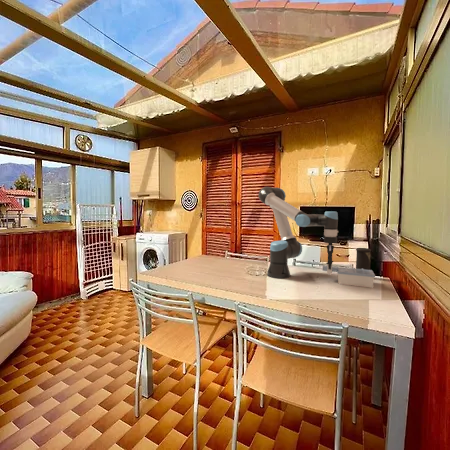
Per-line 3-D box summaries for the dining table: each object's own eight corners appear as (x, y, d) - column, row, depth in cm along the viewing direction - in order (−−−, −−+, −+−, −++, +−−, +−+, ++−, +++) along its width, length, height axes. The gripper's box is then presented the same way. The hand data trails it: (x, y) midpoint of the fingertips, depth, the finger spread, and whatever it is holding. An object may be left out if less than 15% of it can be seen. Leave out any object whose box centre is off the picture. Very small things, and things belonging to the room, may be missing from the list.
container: (372, 279, 159) (373, 249, 158) (357, 279, 161) (358, 248, 160) (367, 276, 168) (368, 247, 167) (353, 275, 170) (354, 246, 168)
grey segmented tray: (322, 272, 150) (322, 268, 150) (323, 267, 162) (323, 264, 162) (374, 277, 139) (375, 272, 139) (371, 272, 151) (371, 268, 151)
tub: (338, 285, 148) (338, 273, 147) (337, 280, 159) (338, 269, 158) (373, 289, 140) (373, 276, 140) (370, 283, 151) (370, 272, 151)
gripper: (337, 237, 144) (336, 277, 145) (337, 235, 160) (336, 271, 161) (323, 237, 147) (322, 276, 148) (324, 234, 163) (323, 269, 164)
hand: (329, 273), depth 155 cm, fingers closed on grey segmented tray, 4 cm apart
